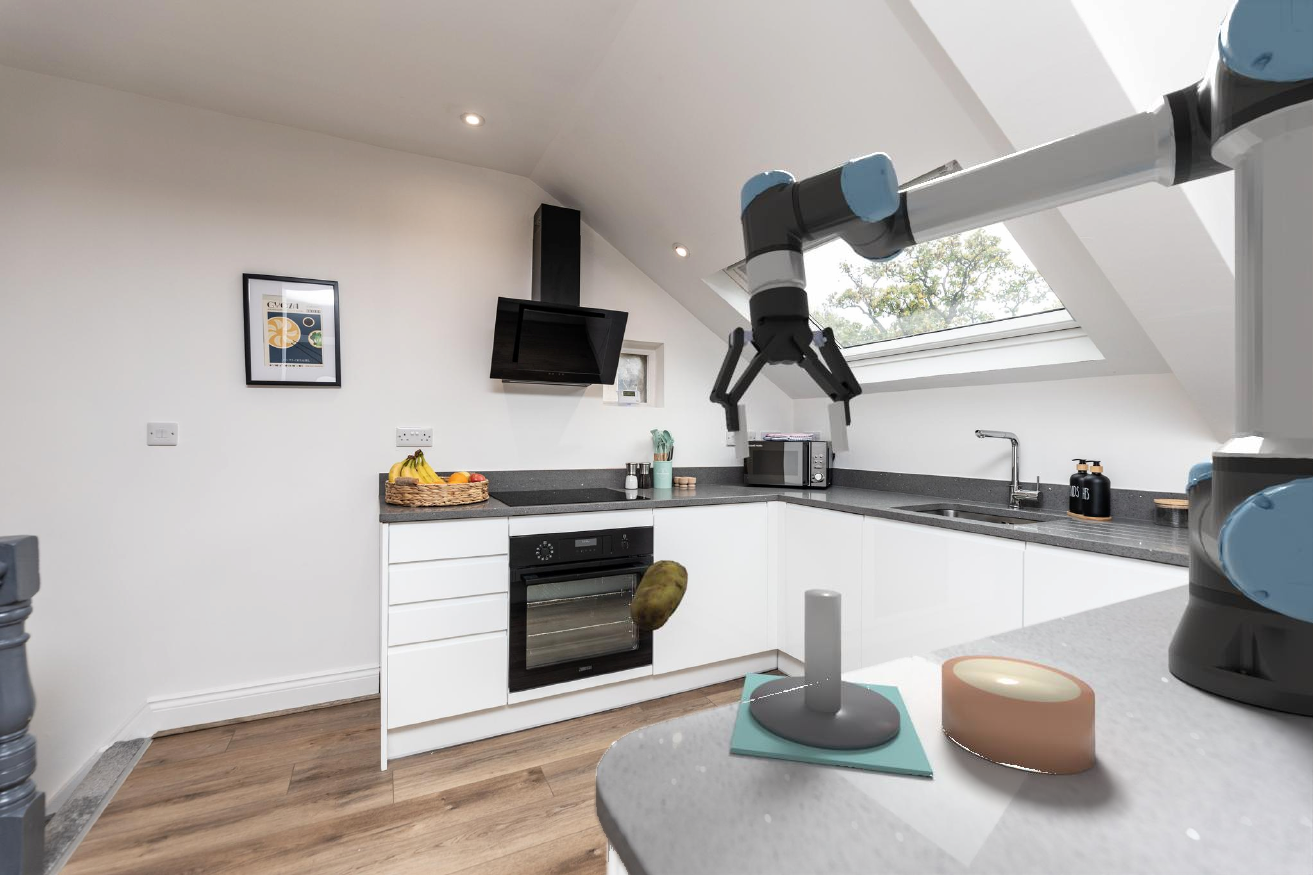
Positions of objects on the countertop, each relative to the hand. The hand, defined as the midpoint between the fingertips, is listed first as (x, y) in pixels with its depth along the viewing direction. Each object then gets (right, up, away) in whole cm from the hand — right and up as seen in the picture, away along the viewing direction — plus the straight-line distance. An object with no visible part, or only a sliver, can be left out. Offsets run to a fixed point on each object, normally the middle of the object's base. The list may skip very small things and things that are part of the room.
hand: (792, 455), depth 76 cm
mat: (-2, -23, -22) cm, 32 cm away
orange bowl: (+13, -23, -26) cm, 37 cm away
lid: (-2, -23, -22) cm, 32 cm away
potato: (-17, -24, +7) cm, 30 cm away
